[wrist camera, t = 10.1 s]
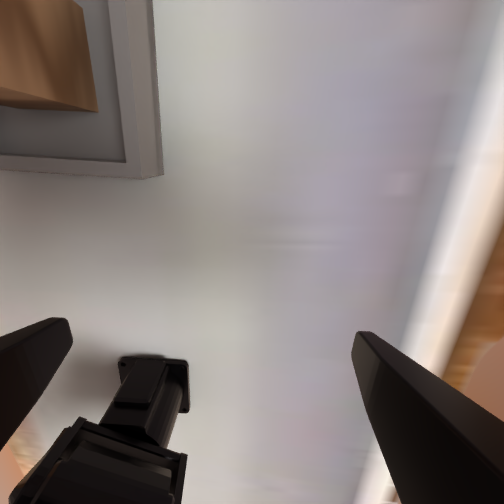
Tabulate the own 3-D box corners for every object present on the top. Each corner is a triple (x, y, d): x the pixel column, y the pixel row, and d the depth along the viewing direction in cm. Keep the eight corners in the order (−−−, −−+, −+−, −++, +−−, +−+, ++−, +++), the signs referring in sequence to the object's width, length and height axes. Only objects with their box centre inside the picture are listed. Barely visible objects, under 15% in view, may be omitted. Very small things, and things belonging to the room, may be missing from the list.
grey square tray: (163, 174, 18) (142, 179, 14) (-6, 163, 18) (-67, 165, 14) (148, -62, 13) (112, -133, 10) (-78, -77, 13) (-187, -151, 10)
